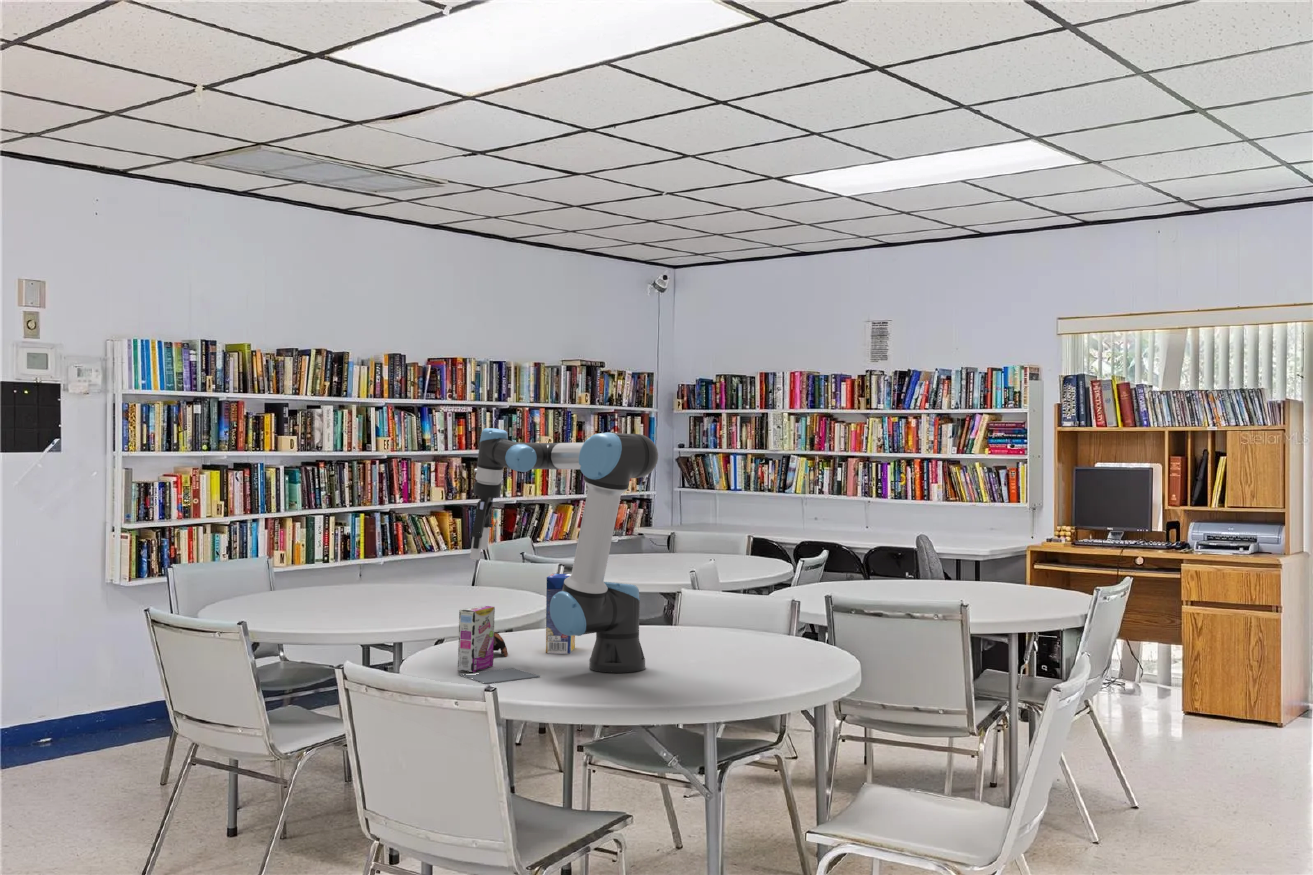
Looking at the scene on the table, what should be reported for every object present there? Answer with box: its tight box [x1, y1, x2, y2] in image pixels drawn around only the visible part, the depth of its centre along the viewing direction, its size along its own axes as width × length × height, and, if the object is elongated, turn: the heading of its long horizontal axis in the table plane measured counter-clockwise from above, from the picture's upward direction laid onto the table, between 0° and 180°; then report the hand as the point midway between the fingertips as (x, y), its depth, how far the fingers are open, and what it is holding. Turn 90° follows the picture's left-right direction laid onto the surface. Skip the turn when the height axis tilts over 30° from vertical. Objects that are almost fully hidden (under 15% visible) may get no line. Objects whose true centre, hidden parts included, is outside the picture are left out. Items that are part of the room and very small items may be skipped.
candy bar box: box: [457, 605, 496, 673], centre depth 305 cm, size 11×5×16 cm, turn 159°
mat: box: [458, 667, 541, 685], centre depth 295 cm, size 14×16×1 cm
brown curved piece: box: [494, 631, 509, 658], centre depth 326 cm, size 12×10×8 cm
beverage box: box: [545, 573, 576, 655], centre depth 335 cm, size 7×11×22 cm, turn 175°
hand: (478, 554), depth 328 cm, fingers open, 13 cm apart
